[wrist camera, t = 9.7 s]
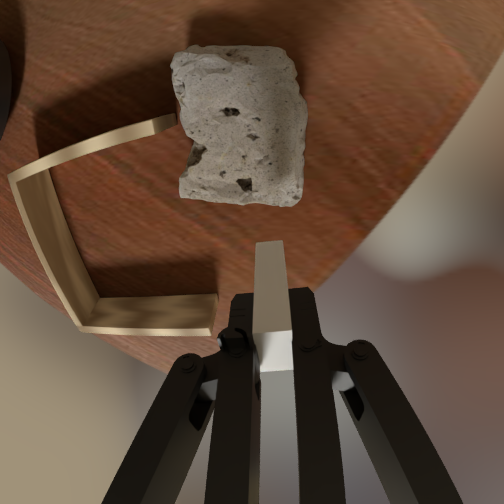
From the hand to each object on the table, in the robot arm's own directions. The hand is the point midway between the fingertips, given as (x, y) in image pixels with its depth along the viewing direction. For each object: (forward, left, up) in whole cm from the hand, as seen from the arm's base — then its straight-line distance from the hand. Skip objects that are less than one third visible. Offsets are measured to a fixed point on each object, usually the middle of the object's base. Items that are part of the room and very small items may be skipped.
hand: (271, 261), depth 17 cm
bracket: (-14, -1, -9) cm, 17 cm away
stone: (-7, +7, -6) cm, 11 cm away
